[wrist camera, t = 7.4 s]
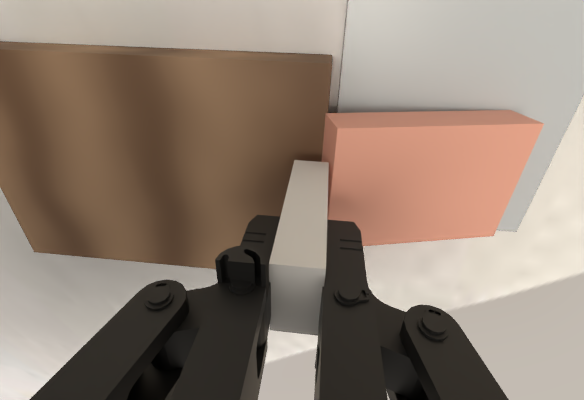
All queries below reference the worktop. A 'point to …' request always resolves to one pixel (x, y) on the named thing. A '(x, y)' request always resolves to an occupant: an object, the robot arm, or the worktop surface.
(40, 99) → the deck
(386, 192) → the card
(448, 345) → the robot arm
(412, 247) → the worktop surface
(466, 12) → the mat
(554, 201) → the worktop surface
